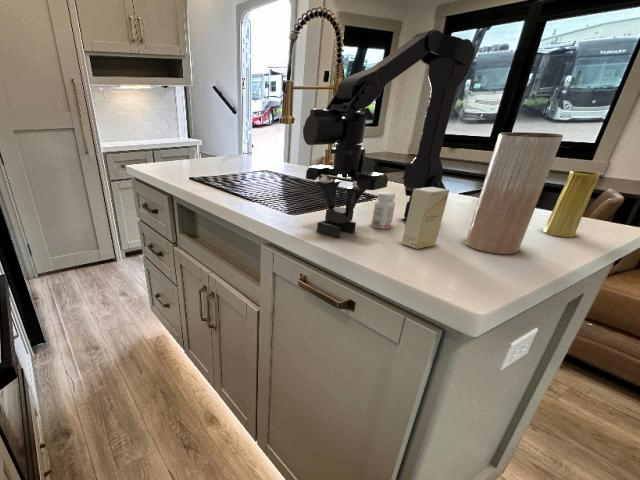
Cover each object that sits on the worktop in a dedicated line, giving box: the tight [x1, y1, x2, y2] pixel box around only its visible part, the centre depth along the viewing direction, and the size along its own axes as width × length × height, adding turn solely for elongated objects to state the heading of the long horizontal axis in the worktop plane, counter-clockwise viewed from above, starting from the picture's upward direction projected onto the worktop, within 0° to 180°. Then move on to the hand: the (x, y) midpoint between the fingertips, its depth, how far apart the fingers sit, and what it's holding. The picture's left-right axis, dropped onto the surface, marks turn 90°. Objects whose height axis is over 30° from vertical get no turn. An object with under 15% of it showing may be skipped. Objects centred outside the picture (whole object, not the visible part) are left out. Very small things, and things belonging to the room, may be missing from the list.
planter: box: [465, 131, 564, 255], centre depth 74 cm, size 10×10×23 cm
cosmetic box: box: [401, 187, 450, 250], centre depth 78 cm, size 6×4×12 cm
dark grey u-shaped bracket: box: [316, 219, 357, 239], centre depth 88 cm, size 6×7×2 cm
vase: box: [543, 170, 601, 238], centre depth 84 cm, size 6×6×14 cm
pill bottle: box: [371, 191, 396, 230], centre depth 91 cm, size 5×5×8 cm
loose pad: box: [324, 206, 355, 224], centre depth 86 cm, size 5×5×2 cm
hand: (339, 214), depth 86 cm, fingers closed on loose pad, 4 cm apart
